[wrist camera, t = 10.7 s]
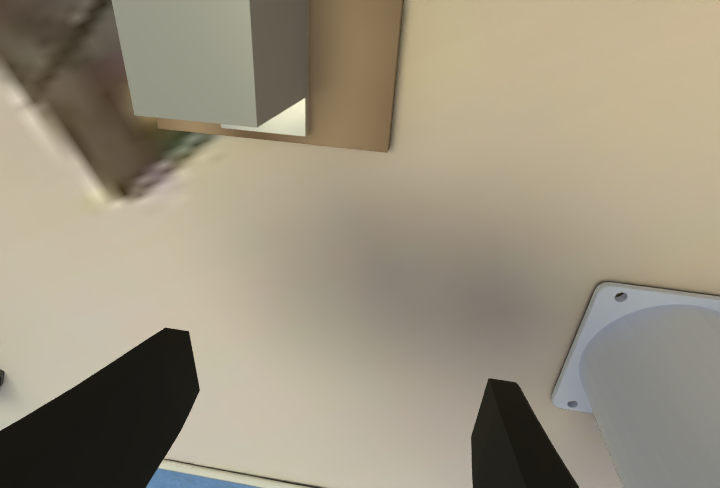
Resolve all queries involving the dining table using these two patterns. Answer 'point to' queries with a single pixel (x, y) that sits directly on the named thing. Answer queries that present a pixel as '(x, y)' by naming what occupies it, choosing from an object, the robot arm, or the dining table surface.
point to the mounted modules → (213, 58)
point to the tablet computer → (207, 478)
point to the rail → (298, 114)
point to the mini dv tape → (1, 377)
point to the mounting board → (341, 77)
